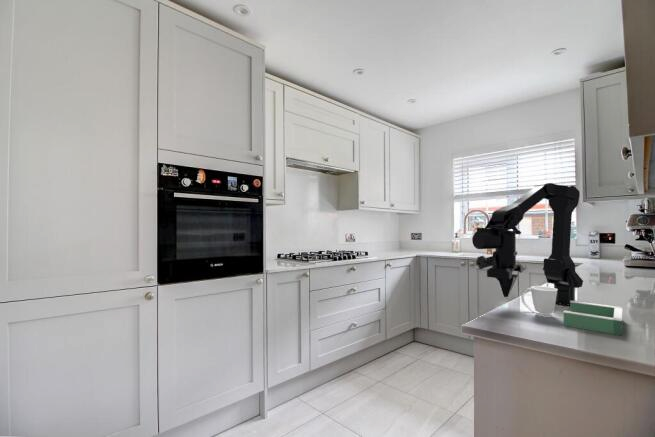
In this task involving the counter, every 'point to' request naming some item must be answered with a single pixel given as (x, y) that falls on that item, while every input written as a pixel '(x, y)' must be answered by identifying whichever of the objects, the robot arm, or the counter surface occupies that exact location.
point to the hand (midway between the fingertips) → (505, 296)
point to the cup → (542, 300)
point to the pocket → (594, 317)
